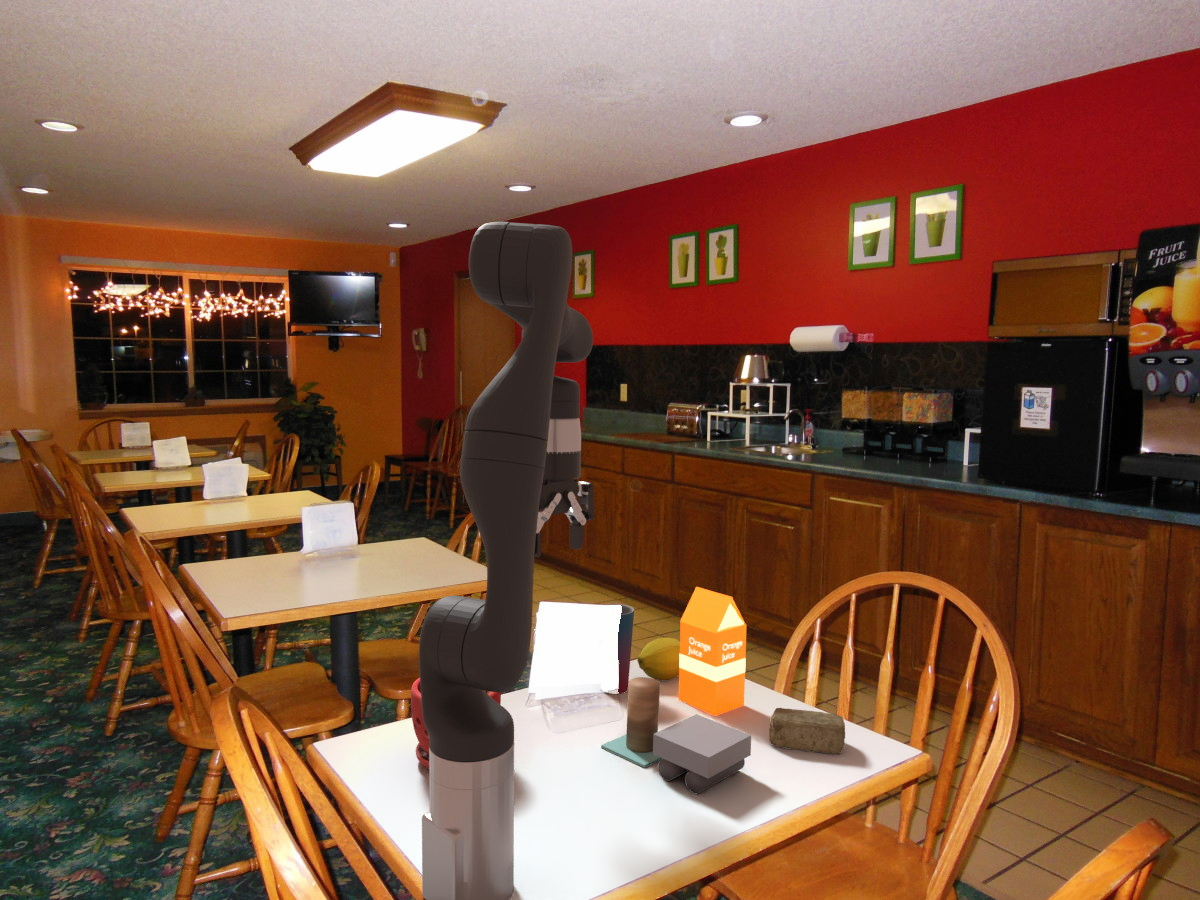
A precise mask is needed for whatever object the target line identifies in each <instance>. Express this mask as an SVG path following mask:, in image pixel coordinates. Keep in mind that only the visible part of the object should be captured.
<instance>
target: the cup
mask: <svg viewBox="0 0 1200 900" xmlns="http://www.w3.org/2000/svg"><path fill="white" fill-rule="evenodd" d="M606 605H621V606H622V613H621V619H620V624H619V632H618V660H619V663H620V664H619V689H618V692H619V694H618V695H621V694H622V695H623V694H625V693H627V692H628V688H629V681H630V680H629V679H630V668H631V656H632V654H631V653H632V642H633V633H634V632H633V629H634V616H635V608H634V607H632V606H630V605H627V604H620V603H610V604H609V603H608V604H607V603H606ZM626 691H627V692H626ZM624 692H625V693H624Z"/></svg>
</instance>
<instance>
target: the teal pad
mask: <svg viewBox="0 0 1200 900" xmlns="http://www.w3.org/2000/svg"><path fill="white" fill-rule="evenodd" d="M600 748H601V749H602V750H605V751H607V752H609V753H612V754H614V755H616V756H619V757H620V758H623V759H625V760H627V761H629V762H631V763H633V764H635V765H638V766H639V767H642V768H644V769H646V768H647V767H650V766H651V765H653V764H656V763H657V762H659V761H660V760H662V759H663V758H661V757H659V756H656V755H654V754H653V751H652V752H647V753H639V752H635V751H632V750H630V749H628V748H627V746H626V734H623V735H621V736H619V737H617V738H614V739H612V740H610V741H608V742H605V743H603V744H601V745H600Z"/></svg>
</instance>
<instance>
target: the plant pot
mask: <svg viewBox="0 0 1200 900" xmlns="http://www.w3.org/2000/svg"><path fill="white" fill-rule="evenodd" d="M485 691H486V690H485ZM486 693H487V694H488V695H489V696H490V697H491V698H492V699H493V700H495V701H496V702H497V703H498V704H500V705H501V703H502V702H501V701H502V698H501V697H502V692H501V693H500V692H491V691H489V692H488V691H486ZM410 708H411V709H410V711H411V720H412V725H413V729H414V730H413V731H414V734H415V737H416V739H417V742H418V743H417V744H416V747H415V757H416V759H417V760H418V762H420V764H421V765H422V766H424V767H425V768H427V769H429V735H428V732H427V730H426V728H425V725H424V722H423V716H422V701H421V685H420V677H418V678H417V679H416V680H415V681H414V682H413V684H412V685H411V689H410Z"/></svg>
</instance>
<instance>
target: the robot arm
mask: <svg viewBox="0 0 1200 900" xmlns="http://www.w3.org/2000/svg"><path fill="white" fill-rule="evenodd" d="M572 267H573V244H572V239H571V236H570V234H569V233H568V231H567V230H566V229H565V228H563V227H561V226H557V225H550V224H540V223H537V224H536V223H535V224H534V223H522V222H511V221H492V222H486V223H483V224H482V225H481V226H479V227H478V228H477V230H476V231H475V233H474V235H473V237H472V240H471V243H470V248H469V254H468V271H469V273H468V274H469V279H470V283H471V286H472V288H473V290H474V292H475V295H476V296H478V298H479V299H481V300H482V302H484V303H486V304H488V305H491V306H493V307H494V308H496V309H497V310H499V311H500V312H502V313H503V314H504V315H506V316H508V317H509V318H510V319H512V320H513V321H515V323H517V324H518V325H519V326H520V328H521V329H522V330H521V341H520V343H519V345H518V346H517V348H516V349H515V351H514V352H513V354H512V355H511V356H510V358H509V359H508V361H507V362H506V363H505V365H504V366H503V367H502V368H501V370H500V371H499V372H498V373H497V374H496V375H495V376H494V377H493V379H492V380H491V381H490V382H489V384H487V386H486V387H485V388H484V390H483V391H482V392H481V393H480V395H479V396H478V397H477V399H476V401H474V402H473V405H472V406H471V408H470V410H469V412H468V414H467V416H466V420H465V424H464V426H465V427H464V432H463V441H462V449H461V457H460V463H459V476H460V477H459V478H460V483H461V487H462V490H463V495H464V497H465V500H466V502H467V504H468V505H467V506H468V507H469V511H470V512H471V514H472V517H473V520H474V521H475V525H476V526H477V529H478V532H479V534H480V535H479V536H480V537H481V541H482V544H483V547H484V551H485V557H486V576H487V577H486V592H485V593H486V594H485V599H482V598H481V599H480V598H475V597H468V596H461V595H448V596H444V597H442V598H440V599H438V600H437V601H435V603H433V604H432V605H431V607H430V608H429V609H428V611H427V613H426V615H425V617H424V620H423V623H422V626H421V630H420V636H419V642H418V670H419V678H420V685H421V701H422V716H423V722H424V725H425V728H426V730H427V732H428V735H429V768H428V769H429V772H428V773H429V776H428V777H429V782H428V783H429V784H428V785H429V794H428V795H429V811H428V812H426V813H424V814H423V815H422V817H421V861H422V862H421V864H422V865H421V866H422V868H421V870H422V871H421V873H422V874H421V876H422V877H421V878H422V880H421V881H422V883H421V885H422V890H421V891H422V892H421V893H422V895H421V896H422V897H423V898H424V899H425V900H510V899H511V898H512V896H513V893H514V889H515V887H514V885H515V884H514V883H515V882H514V879H515V878H514V875H515V874H514V871H515V869H514V866H515V865H514V864H515V863H514V859H515V858H514V857H515V853H514V851H515V850H514V849H515V848H514V846H515V845H514V843H515V838H514V837H515V835H514V833H515V827H514V826H515V824H514V822H515V820H514V819H515V816H514V815H515V812H514V811H515V810H514V809H515V724H514V718H513V716H512V714H511V713H510V712H509V710H507V709H506V708H505V707H504V706H502V705H501V704H498V703H497V702H496V701H495V700H493V699H492V698H491V697H490V696H489V695H488V692H500V693H501V694H502V693H506V692H508V691H511V690H512V689H513V688H514V687H515V686H516V685H517V684H518V683H519V681H520V679H521V677H523V673H524V671H525V669H526V666H527V662H528V658H529V654H530V650H531V649H530V648H531V640H532V628H533V600H534V599H533V598H534V597H533V596H534V574H535V573H534V569H535V558H540V557H541V556H542V533H541V532H540V531H541V530H542V528H543V527H544V524H545V523H546V522H548V521H549V519H550V518H551V516H557V515H559V514H564V515H566V517H567V519H568V520H569V522H570V523H571V524H569V528H568V529H569V530H568V531H569V533H568V537H569V538H568V541H569V542H568V543H569V544H568V546H569V548H570V549H573V550H581V549H582V548H583V544H584V537H585V536H584V532H585V531H584V527H585V525H586V523H587V522H588V521H592V520H594V518H595V498H594V496H595V495H594V493H595V492H594V484H593V483H592V482H588V481H582V480H581V481H578V480H579V479H580V477H581V476H582V468H581V467H582V429H581V421H580V419H581V418H580V417H581V414H580V413H581V412H580V409H581V408H580V407H581V402H580V401H581V389H580V384H579V383H578V381H576V380H574V379H571V378H567V377H562V376H561V377H560V376H558V375H555V371H556V363H579V362H582V361H584V360H585V359H587V358H588V356H589V355H590V353H591V352H592V350H593V349H592V348H593V346H594V334H593V330H592V327H591V324H590V323H589V321H588V319H587V318H586V317H585V316H584V315H583V314H582V313H581V312H579V311H577V310H575V309H574V308H572V307H570V306H569V304H568V302H567V300H568V295H569V290H570V282H571V277H572ZM485 690H486V691H487V693H486V691H485Z"/></svg>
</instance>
